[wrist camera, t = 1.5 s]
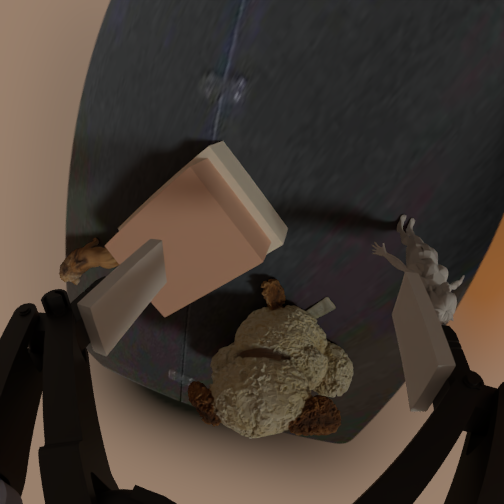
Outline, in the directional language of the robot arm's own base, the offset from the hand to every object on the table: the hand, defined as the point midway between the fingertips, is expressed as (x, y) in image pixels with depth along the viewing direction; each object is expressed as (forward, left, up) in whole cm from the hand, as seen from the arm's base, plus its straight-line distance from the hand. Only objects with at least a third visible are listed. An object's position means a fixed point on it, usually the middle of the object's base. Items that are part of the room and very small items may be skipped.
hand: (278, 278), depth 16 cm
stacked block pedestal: (-3, -15, -24) cm, 28 cm away
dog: (+17, -16, -24) cm, 33 cm away
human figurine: (+12, +7, -24) cm, 28 cm away
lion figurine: (-9, -32, -24) cm, 41 cm away
